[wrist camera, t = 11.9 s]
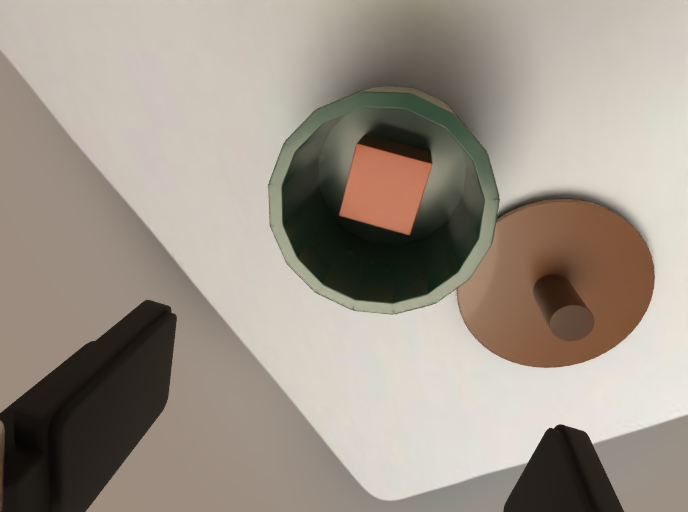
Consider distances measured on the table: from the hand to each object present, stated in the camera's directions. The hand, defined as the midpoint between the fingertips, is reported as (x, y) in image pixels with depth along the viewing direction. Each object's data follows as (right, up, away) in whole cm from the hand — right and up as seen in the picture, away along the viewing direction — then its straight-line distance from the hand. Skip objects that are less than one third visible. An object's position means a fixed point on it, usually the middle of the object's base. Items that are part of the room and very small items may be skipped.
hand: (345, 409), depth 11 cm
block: (+3, +10, +23) cm, 25 cm away
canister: (+4, +10, +24) cm, 26 cm away
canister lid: (+16, +1, +24) cm, 29 cm away
